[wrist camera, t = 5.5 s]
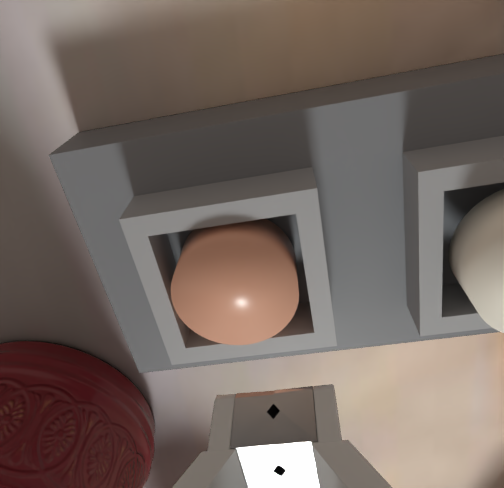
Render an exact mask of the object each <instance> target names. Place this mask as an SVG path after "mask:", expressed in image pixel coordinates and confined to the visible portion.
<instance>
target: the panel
mask: <svg viewBox="0 0 504 488" xmlns="http://www.w3.org/2000/svg"><path fill="white" fill-rule="evenodd" d="M49 157H50V159H51V161H52V164H53V166H54V169H55V171H56V173H57V176H58V178H59V181H60V183H61V185H62V188H63V190H64V193H65V195H66V198H67V200H68V202H69V205H70V207H71V210H72V212H73V214H74V217H75V219H76V222H77V224H78V226H79V229H80V231H81V234H82V236H83V238H84V241H85V243H86V246H87V248H88V250H89V253H90V255H91V258H92V260H93V262H94V265H95V267H96V270H97V272H98V274H99V277H100V279H101V282H102V284H103V287H104V289H105V291H106V294H107V296H108V299H109V301H110V303H111V306H112V308H113V311H114V313H115V315H116V318H117V320H118V323H119V325H120V327H121V330H122V332H123V335H124V337H125V339H126V342H127V344H128V347H129V349H130V351H131V354H132V356H133V359H134V361H135V363H136V366H137V368H138V371H139V373H144V372H153V371H162V370H171V369H179V368H188V367H197V366H206V365H214V364H223V363H232V362H241V361H249V360H258V359H267V358H276V357H284V356H293V355H302V354H311V353H319V352H328V351H337V350H346V349H354V348H363V347H372V346H381V345H389V344H398V343H407V342H416V341H424V340H433V339H442V338H451V337H459V336H468V335H477V334H486V333H494V332H500V331H498V330H496V329H494V328H492V327H491V326H489V325H488V324H487V323H486V322H485V321H484V320H483V319H482V318H481V317H480V315H479V314H478V312H477V310H476V309H475V307H474V306H473V304H472V303H471V301H470V299H469V298H468V296H467V295H466V293H465V292H464V290H463V288H462V287H461V285H460V284H459V282H458V281H457V279H456V277H455V276H454V274H453V272H452V270H451V267H450V263H449V246H450V242H451V239H452V236H453V234H454V231H455V230H456V228H457V226H458V224H459V223H460V222H461V220H462V219H463V217H464V216H465V215H466V214H467V213H468V212H469V211H470V210H471V209H472V208H473V207H474V206H475V205H477V204H478V203H479V202H481V201H482V200H483V199H485V198H486V197H488V196H490V195H492V194H493V193H495V192H498V191H500V190H502V189H504V54H501V55H495V56H490V57H485V58H479V59H474V60H468V61H463V62H457V63H452V64H447V65H441V66H436V67H430V68H425V69H420V70H414V71H409V72H403V73H398V74H392V75H387V76H382V77H376V78H371V79H365V80H360V81H355V82H349V83H344V84H338V85H333V86H327V87H322V88H317V89H311V90H306V91H300V92H295V93H290V94H284V95H279V96H273V97H268V98H262V99H257V100H252V101H246V102H241V103H235V104H230V105H225V106H219V107H214V108H208V109H203V110H197V111H192V112H187V113H181V114H176V115H170V116H165V117H159V118H154V119H149V120H143V121H138V122H132V123H127V124H122V125H116V126H111V127H105V128H100V129H94V130H89V131H84V132H79V133H77V134H76V135H75V136H73V137H72V138H71V139H69V140H68V141H67V142H66V143H64V144H63V145H62V146H60V147H59V148H58V149H56V150H55V151H54V152H52V153H51V154H50V155H49ZM265 218H266V219H267V220H269V221H271V222H273V223H274V224H275V225H277V226H278V227H279V228H280V229H281V230H282V231H283V232H284V233H285V234H286V235H287V237H288V238H289V240H290V242H291V243H292V246H293V248H294V252H295V256H296V266H297V277H298V288H299V302H298V306H297V309H296V312H295V314H294V316H293V318H292V319H291V321H290V322H289V323H288V325H287V326H286V327H285V328H284V329H283V330H281V331H280V332H279V333H277V334H276V335H274V336H272V337H271V338H269V339H266V340H264V341H261V342H258V343H254V344H248V345H228V344H222V343H217V342H214V341H211V340H208V339H206V338H204V337H202V336H200V335H198V334H197V333H195V332H194V331H193V330H191V329H190V328H189V327H188V326H187V325H186V324H185V323H184V322H183V321H182V320H181V318H180V317H179V316H178V314H177V312H176V310H175V308H174V306H173V303H172V299H171V282H172V278H173V275H174V272H175V269H176V266H177V263H178V260H179V257H180V254H181V251H182V248H183V246H184V243H185V241H186V239H187V237H188V235H189V234H190V233H191V232H192V230H193V229H199V228H206V227H213V226H219V225H226V224H232V223H239V222H245V221H252V220H259V219H265Z"/></svg>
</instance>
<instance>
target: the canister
mask: <svg viewBox="0 0 504 488" xmlns="http://www.w3.org/2000/svg"><path fill="white" fill-rule="evenodd" d="M154 433H155V425H154V419H153V415H152V412H151V409H150V407H149V405H148V403H147V401H146V400H145V398H144V397H143V395H142V394H141V392H140V391H139V390H138V389H137V387H136V386H135V385H134V384H133V383H132V382H131V381H130V380H129V379H127V378H126V377H125V376H124V375H123V374H121V373H120V372H119V371H117V370H116V369H115V368H113V367H112V366H110V365H108V364H107V363H105V362H103V361H101V360H100V359H98V358H96V357H93V356H91V355H89V354H87V353H84V352H82V351H79V350H76V349H73V348H69V347H66V346H62V345H57V344H52V343H46V342H36V341H17V342H7V343H1V344H0V488H143V486H144V485H145V483H146V481H147V479H148V476H149V474H150V469H151V464H152V461H153V457H154Z"/></svg>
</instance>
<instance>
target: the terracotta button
mask: <svg viewBox="0 0 504 488" xmlns="http://www.w3.org/2000/svg"><path fill="white" fill-rule="evenodd" d="M171 299H172V303H173V306H174V308H175V310H176V312H177V314H178V316H179V317H180V318H181V320H182V321H183V322H184V323H185V324H186V325H187V326H188V327H189V328H190V329H191V330H193V331H194V332H195V333H197V334H198V335H200V336H202V337H204V338H206V339H208V340H211V341H214V342H217V343H222V344H228V345H248V344H254V343H258V342H261V341H264V340H266V339H269V338H271V337H272V336H274V335H276V334H277V333H279V332H280V331H281V330H283V329H284V328H285V327H286V326H287V325H288V323H289V322H290V321H291V319H292V318H293V316H294V314H295V312H296V309H297V306H298V302H299V288H298V277H297V266H296V256H295V252H294V248H293V246H292V243H291V242H290V240H289V238H288V237H287V235H286V234H285V233H284V232H283V231H282V230H281V229H280V228H279V227H278V226H277V225H275V224H274V223H273V222H271V221H269V220H267V219H266V218H265V219H259V220H252V221H245V222H239V223H232V224H226V225H219V226H213V227H206V228H199V229H193V230H192V232H191V233H190V234H189V235H188V237H187V239H186V241H185V243H184V246H183V248H182V251H181V254H180V257H179V260H178V263H177V266H176V269H175V272H174V275H173V278H172V282H171Z"/></svg>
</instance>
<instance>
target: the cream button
mask: <svg viewBox="0 0 504 488" xmlns="http://www.w3.org/2000/svg"><path fill="white" fill-rule="evenodd" d="M449 263H450V267H451V270H452V272H453V274H454V276H455V277H456V279H457V281H458V282H459V284H460V285H461V287H462V288H463V290H464V292H465V293H466V295H467V296H468V298H469V299H470V301H471V303H472V304H473V306H474V307H475V309H476V310H477V312H478V314H479V315H480V317H481V318H482V319H483V320H484V321H485V322H486V323H487V324H488V325H489V326H491V327H492V328H494V329H496V330H498V331H500V332H502V333H504V189H502V190H500V191H498V192H495V193H493V194H492V195H490V196H488V197H486V198H485V199H483V200H482V201H481V202H479V203H478V204H477V205H475V206H474V207H473V208H472V209H471V210H470V211H469V212H468V213H467V214H466V215H465V216H464V217H463V219H462V220H461V222H460V223H459V224H458V226H457V228H456V230H455V231H454V234H453V236H452V239H451V242H450V246H449Z"/></svg>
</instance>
